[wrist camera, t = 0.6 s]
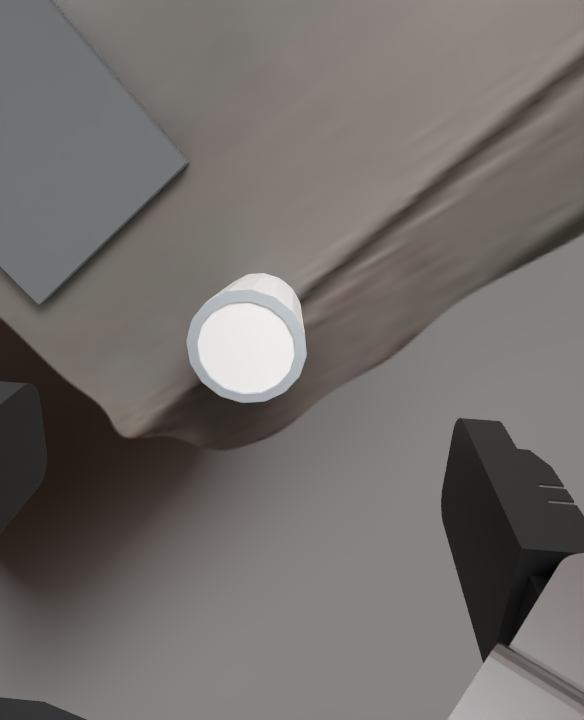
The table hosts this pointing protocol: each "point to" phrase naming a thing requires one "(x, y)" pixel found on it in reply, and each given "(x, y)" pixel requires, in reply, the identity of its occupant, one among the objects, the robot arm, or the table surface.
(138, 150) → the mat
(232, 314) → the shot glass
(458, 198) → the table surface
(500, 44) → the table surface
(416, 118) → the table surface
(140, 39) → the table surface
